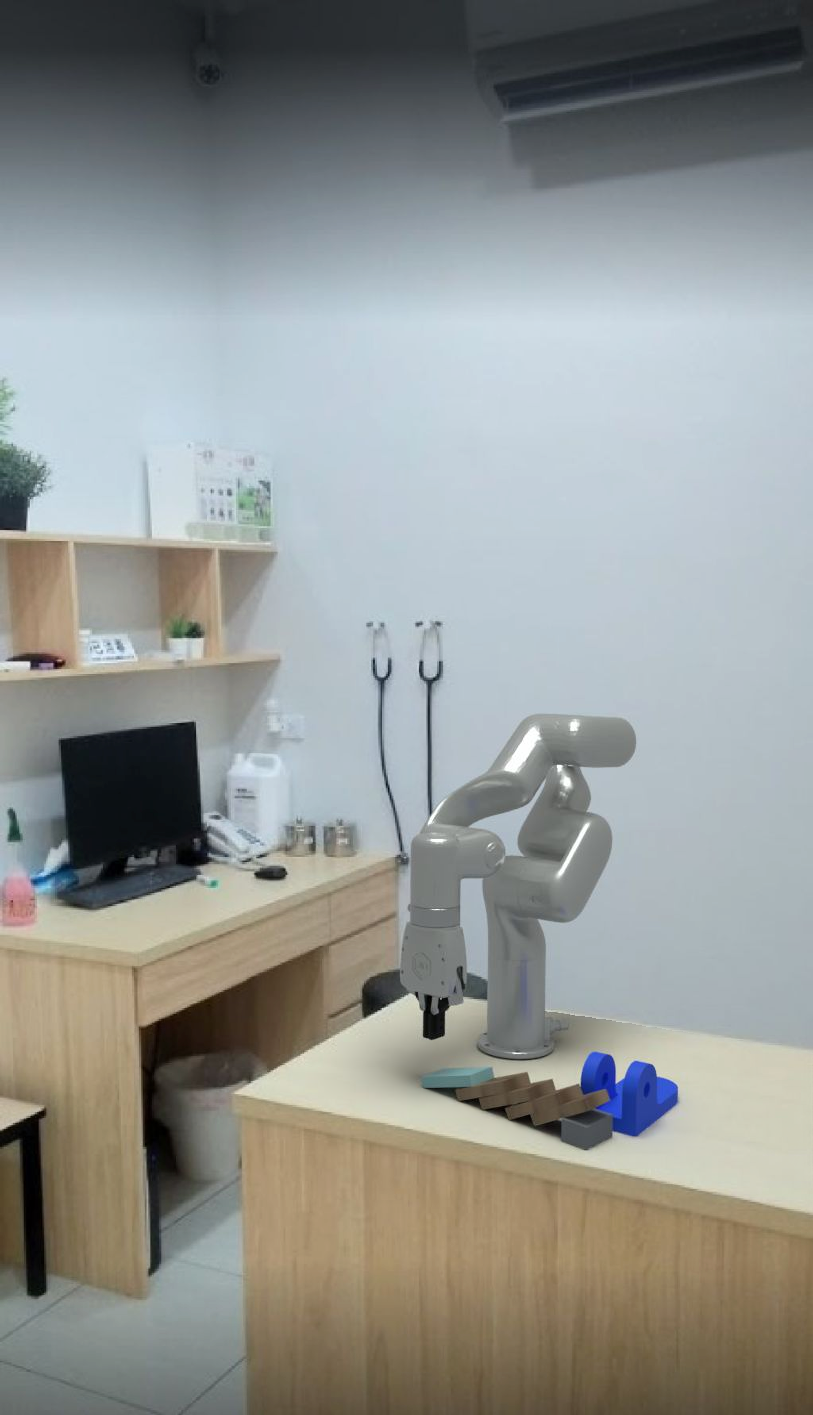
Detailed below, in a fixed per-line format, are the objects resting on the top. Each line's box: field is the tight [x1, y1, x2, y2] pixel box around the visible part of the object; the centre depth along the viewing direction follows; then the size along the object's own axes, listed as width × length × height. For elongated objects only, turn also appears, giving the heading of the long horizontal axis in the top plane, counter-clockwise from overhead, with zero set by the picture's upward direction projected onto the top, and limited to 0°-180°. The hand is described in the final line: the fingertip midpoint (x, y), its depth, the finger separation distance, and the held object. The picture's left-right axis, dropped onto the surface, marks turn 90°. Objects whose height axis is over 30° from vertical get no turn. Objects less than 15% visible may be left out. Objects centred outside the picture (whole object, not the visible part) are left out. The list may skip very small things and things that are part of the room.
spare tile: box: [420, 1066, 495, 1089], centre depth 169 cm, size 5×2×10 cm
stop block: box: [560, 1109, 614, 1151], centre depth 152 cm, size 6×4×3 cm, turn 136°
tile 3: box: [478, 1078, 557, 1110], centre depth 161 cm, size 5×2×10 cm
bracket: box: [580, 1051, 679, 1138], centre depth 163 cm, size 18×8×9 cm, turn 145°
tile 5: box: [529, 1089, 611, 1127], centre depth 154 cm, size 5×2×10 cm
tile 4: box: [504, 1083, 583, 1121], centre depth 157 cm, size 5×2×10 cm
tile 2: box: [455, 1071, 532, 1102], centre depth 164 cm, size 5×2×10 cm
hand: (433, 1036), depth 172 cm, fingers closed
